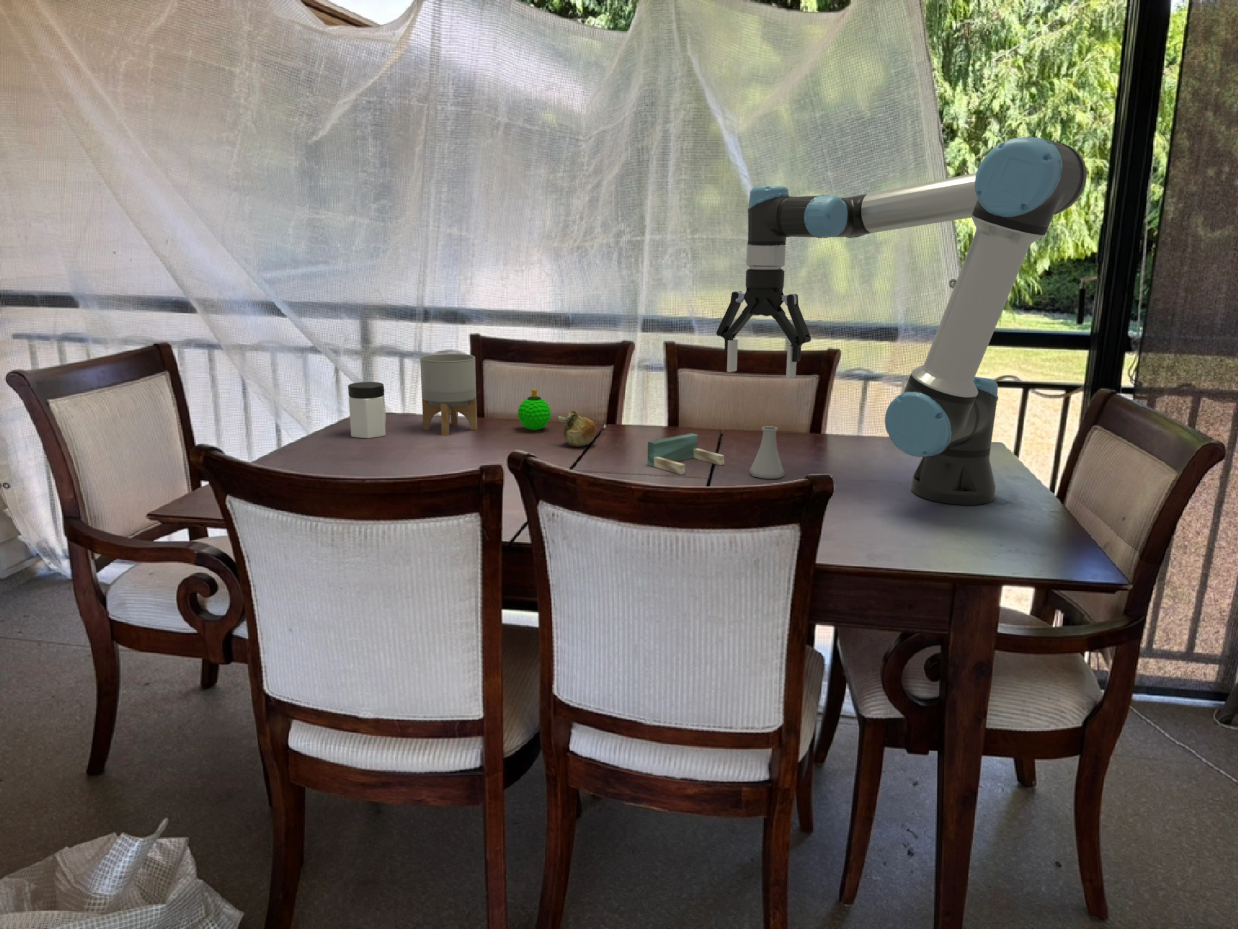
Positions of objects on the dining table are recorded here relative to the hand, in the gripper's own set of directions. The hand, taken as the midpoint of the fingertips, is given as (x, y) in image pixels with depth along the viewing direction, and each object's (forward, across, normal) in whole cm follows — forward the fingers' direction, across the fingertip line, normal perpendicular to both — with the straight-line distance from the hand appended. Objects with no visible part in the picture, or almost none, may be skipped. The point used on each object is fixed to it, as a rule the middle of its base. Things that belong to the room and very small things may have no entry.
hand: (760, 374), depth 182 cm
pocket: (+20, +14, +6) cm, 25 cm away
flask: (+20, -4, +2) cm, 21 cm away
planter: (+19, +76, +17) cm, 80 cm away
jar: (+19, +86, +33) cm, 94 cm away
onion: (+20, +42, +8) cm, 47 cm away
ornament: (+19, +60, +4) cm, 63 cm away
